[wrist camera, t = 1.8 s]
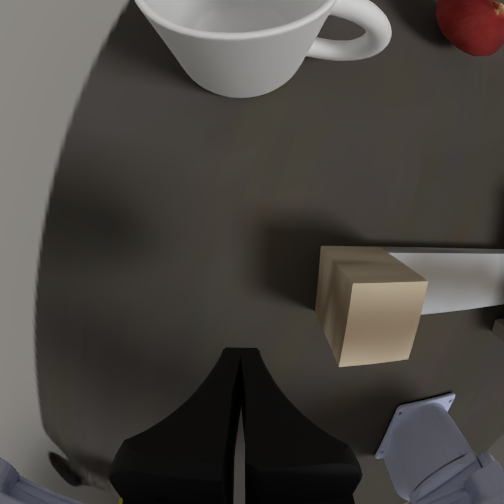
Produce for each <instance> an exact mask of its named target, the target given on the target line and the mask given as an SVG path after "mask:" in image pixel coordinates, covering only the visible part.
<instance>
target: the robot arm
mask: <svg viewBox="0 0 504 504" xmlns="http://www.w3.org/2000/svg"><path fill="white" fill-rule="evenodd" d="M454 398H455V394H454V393H449V394H446V395H442V396H438V397H434V398H430V399H426V400H422V401H418V402H413V403H409V404H404V405H400V406H399V407H397V409H396V411H395V414H394V416H393V418H392V421H391V423H390V425H389V427H388V430H387V432H386V434H385V436H384V438H383V440H382V442H381V444H380V447H379V449H378V451H377V453H376V455H375V457H376V458H377V459H378V458H383V459H384V462H385V464H386V467H387V470H388V472H389V475H390V477H391V480H392V483H393V485H394V488H395V490H396V492H397V493H398V495H399V496H401V497H402V498H404V499H405V500H408V501H410V503H408V504H504V470H503V469H502V467H501V466H500V464H499V462H498V461H497V460H494V458H493V457H492V456H491V454H490V453H489V452H481V453H479V454H478V456H477V455H476V454H475V453H474V452H473V450H472V449H471V447H470V446H469V444H468V443H467V441H466V439H465V438H464V436H463V435H462V433H461V432H460V430H459V429H458V427H457V426H456V424H455V423H454V421H453V420H452V418H451V417H450V415H449V414H448V410H449V408H450V406H451V404H452V402H453V400H454ZM241 408H242V418H243V428H244V438H245V504H355V502H354V498H353V495H352V494H353V493H354V491H355V489H356V488H357V486H358V484H359V482H360V481H361V478H362V472H361V468H360V465H359V462H358V460H357V458H356V456H355V454H354V453H353V451H352V449H351V448H350V446H349V445H347V444H346V443H344V442H342V441H340V440H338V439H336V438H334V437H333V436H331V435H329V434H327V433H326V432H324V431H323V430H321V429H320V428H319V427H317V426H316V425H315V424H314V423H312V422H311V421H310V420H309V419H307V418H306V417H305V416H304V415H303V414H302V413H301V412H300V411H299V410H298V409H297V408H296V407H295V406H294V405H293V404H292V403H291V402H290V401H289V400H288V399H287V398H286V396H285V395H284V394H283V393H282V391H281V390H280V388H279V387H278V386H277V384H276V383H275V381H274V380H273V378H272V377H271V375H270V373H269V372H268V370H267V368H266V366H265V364H264V362H263V360H262V357H261V355H260V351H259V350H258V349H257V348H225V349H224V350H223V352H222V354H221V356H220V358H219V360H218V361H217V363H216V365H215V366H214V368H213V369H212V371H211V372H210V374H209V375H208V377H207V378H206V379H205V381H204V382H203V383H202V384H201V385H200V387H199V388H198V389H197V390H196V391H195V393H194V394H193V395H192V396H191V397H190V398H189V399H188V400H187V401H186V402H185V403H184V404H183V405H181V406H180V407H179V408H178V409H177V410H175V411H174V412H173V413H172V414H170V415H169V416H168V417H166V418H165V419H164V420H162V421H160V422H159V423H157V424H156V425H154V426H153V427H151V428H149V429H148V430H146V431H144V432H142V433H140V434H138V435H135V436H133V437H131V438H129V439H126V440H124V442H123V443H122V445H121V447H120V448H119V450H118V452H117V454H116V456H115V458H114V460H113V463H112V466H111V468H110V471H109V475H108V478H109V480H110V482H111V484H112V485H113V487H114V488H115V490H116V491H117V493H118V494H119V495H120V497H121V498H122V500H123V502H122V504H233V495H234V455H235V446H236V439H237V431H238V424H239V417H240V410H241ZM0 504H85V503H82V502H79V501H77V500H74V499H71V498H69V497H66V496H63V495H61V494H58V493H56V492H54V491H51V490H49V489H47V488H44V487H42V486H40V485H38V484H36V483H34V482H32V481H30V480H27V479H25V478H23V477H22V476H20V475H19V473H18V472H17V471H16V469H15V468H14V467H13V466H12V465H11V464H9V463H8V462H6V461H5V460H3V459H1V458H0Z"/></svg>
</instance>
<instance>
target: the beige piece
mask: <svg viewBox="0 0 504 504" xmlns="http://www.w3.org/2000/svg"><path fill="white" fill-rule="evenodd" d="M501 304H504V249H473V248H426V247H369V246H321V250H320V263H319V275H318V286H317V296H316V306H315V312H316V314H317V317H318V319H319V321H320V324H321V326H322V328H323V331H324V333H325V335H326V338H327V340H328V342H329V345H330V347H331V350H332V352H333V354H334V357H335V359H336V362H337V364H338V366H339V367H345V366H356V365H366V364H375V363H383V362H391V361H398V360H405V359H408V358H409V355H410V351H411V348H412V345H413V341H414V338H415V334H416V331H417V327H418V323H419V319H420V315H422V314H432V313H441V312H450V311H458V310H466V309H474V308H481V307H488V306H495V305H501Z"/></svg>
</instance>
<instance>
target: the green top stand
mask: <svg viewBox="0 0 504 504" xmlns="http://www.w3.org/2000/svg"><path fill="white" fill-rule="evenodd" d="M492 332H493V333H494V334H495V335H496V336H498V337H499V338H500V339H501V340H502V341H503V342H504V319H503V318H502V319H497V320H495V323H494V326H493V329H492Z"/></svg>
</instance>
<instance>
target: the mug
mask: <svg viewBox="0 0 504 504" xmlns="http://www.w3.org/2000/svg"><path fill="white" fill-rule="evenodd" d="M135 3H136V4H137V6H138V7H139V8H140V10H141V11H142V13H143V14H144V15H145V16H146V18H147V19H148V20H149V22H150V23H151V25H152V26H153V27H154V29H155V30H156V31H157V33H158V34H159V35H160V37H161V38H162V39H163V41H164V42H165V44H166V45H167V46H168V48H169V49H170V51H171V52H172V53H173V55H174V56H175V57H176V59H177V60H178V62H179V63H180V65H181V66H182V67H183V69H184V70H185V72H186V73H187V74H188V75H189V76H190V77H191V78H192V79H193V80H194V81H195V82H196V83H197V84H198V85H200V86H201V87H203V88H205V89H206V90H209V91H211V92H213V93H215V94H218V95H221V96H226V97H233V98H249V97H256V96H260V95H263V94H266V93H269V92H271V91H273V90H275V89H277V88H279V87H280V86H282V85H283V84H285V83H286V82H287V81H288V80H289V79H290V78H291V77H292V76H293V75H294V74H295V72H296V71H297V70H298V68H299V67H300V65H301V64H302V62H303V60H304V58H305V57H306V56H308V57H313V58H319V59H326V60H337V61H350V60H359V59H364V58H368V57H371V56H374V55H376V54H378V53H379V52H381V51H382V50H383V49H384V48H385V47H386V46H387V45H388V43H389V42H390V39H391V34H392V31H391V26H390V22H389V20H388V19H387V17H386V15H385V14H384V13H383V12H382V11H381V10H380V9H379V7H377V6H376V5H375V4H374V3H372V2H371V1H370V0H135ZM328 15H333V16H337V17H341V18H344V19H347V20H350V21H352V22H354V23H356V24H358V25H360V26H361V27H363V28H364V29H365V30H366V33H365V34H364V35H363V36H361V37H359V38H357V39H354V40H347V41H337V40H329V39H323V38H319V37H317V35H318V33H319V31H320V29H321V27H322V25H323V24H324V22H325V20H326V18H327V17H328Z"/></svg>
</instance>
